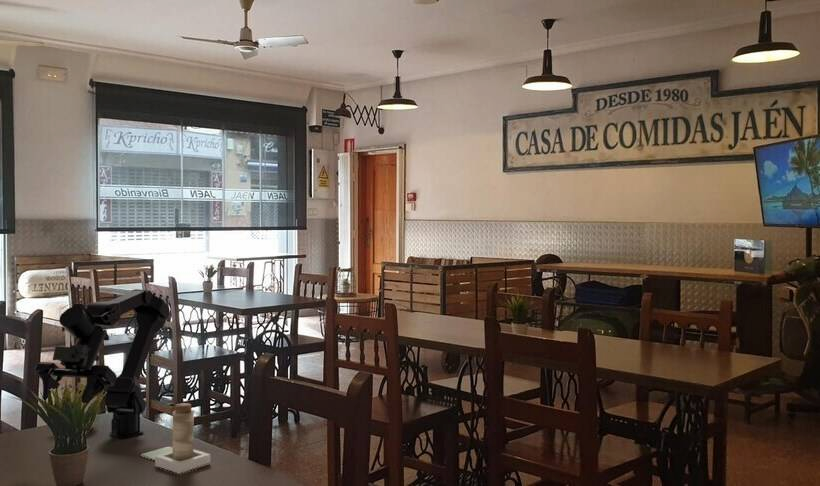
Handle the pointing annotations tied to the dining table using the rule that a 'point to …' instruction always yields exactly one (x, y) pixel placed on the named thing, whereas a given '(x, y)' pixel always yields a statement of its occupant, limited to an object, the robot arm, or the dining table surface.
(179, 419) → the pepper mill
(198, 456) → the pocket holder
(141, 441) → the dining table surface
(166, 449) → the rubber mat
